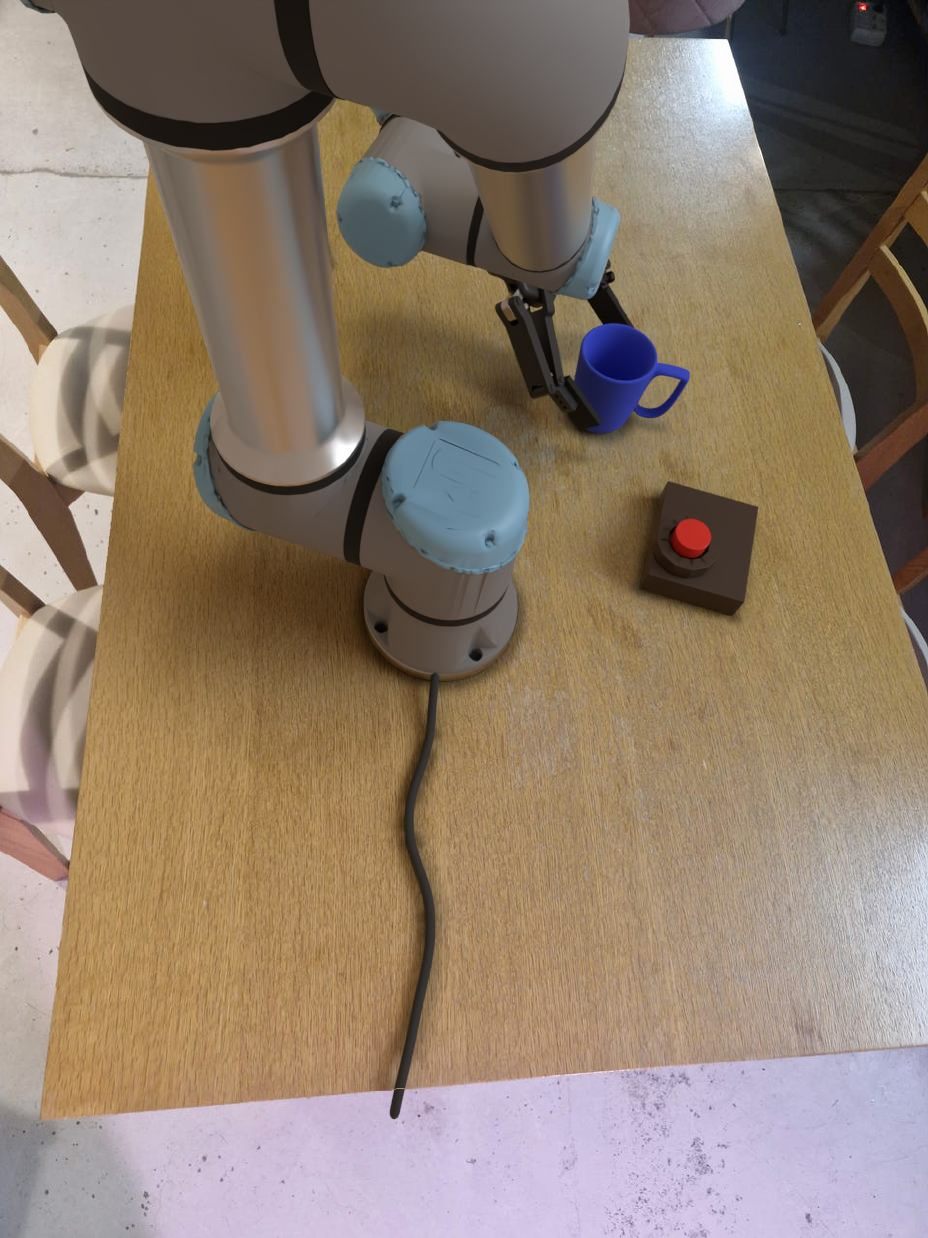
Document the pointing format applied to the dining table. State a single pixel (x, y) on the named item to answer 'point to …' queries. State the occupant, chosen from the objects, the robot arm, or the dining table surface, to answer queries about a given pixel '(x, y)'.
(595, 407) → the mug
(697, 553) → the power button
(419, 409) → the dining table surface
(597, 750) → the dining table surface
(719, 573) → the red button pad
